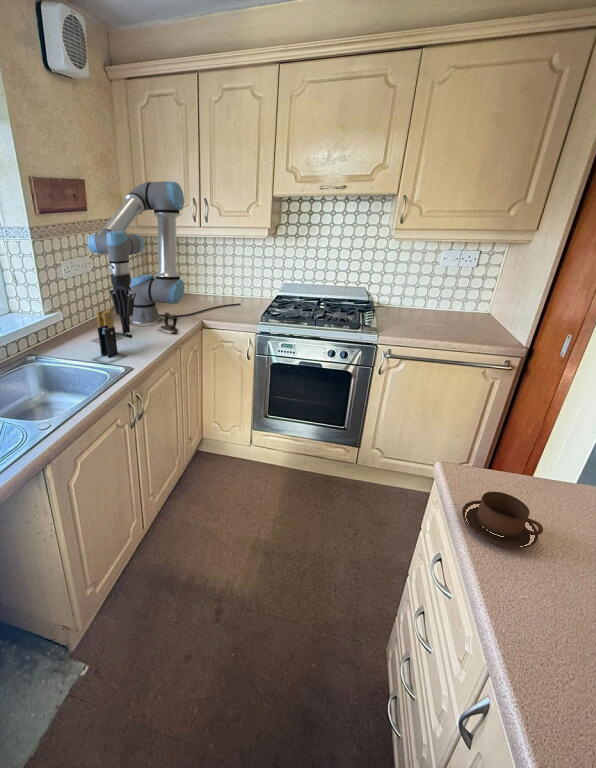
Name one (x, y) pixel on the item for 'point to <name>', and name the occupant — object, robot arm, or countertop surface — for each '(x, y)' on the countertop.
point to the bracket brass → (105, 319)
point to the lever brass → (107, 311)
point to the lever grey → (119, 334)
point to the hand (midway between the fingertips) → (126, 332)
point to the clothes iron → (170, 327)
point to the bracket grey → (108, 341)
